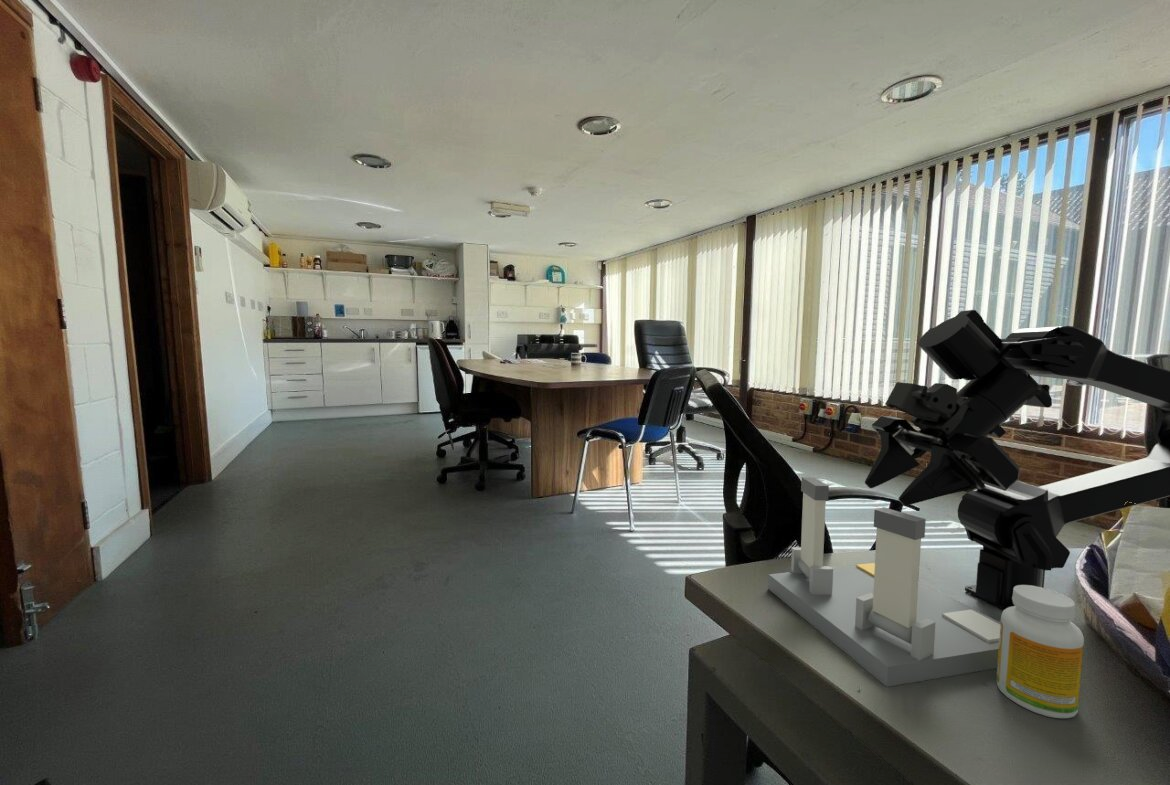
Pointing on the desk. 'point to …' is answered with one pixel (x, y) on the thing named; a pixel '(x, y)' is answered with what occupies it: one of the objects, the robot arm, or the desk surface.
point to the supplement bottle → (1040, 652)
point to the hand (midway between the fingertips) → (883, 493)
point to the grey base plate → (840, 612)
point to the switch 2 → (896, 571)
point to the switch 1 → (812, 523)
